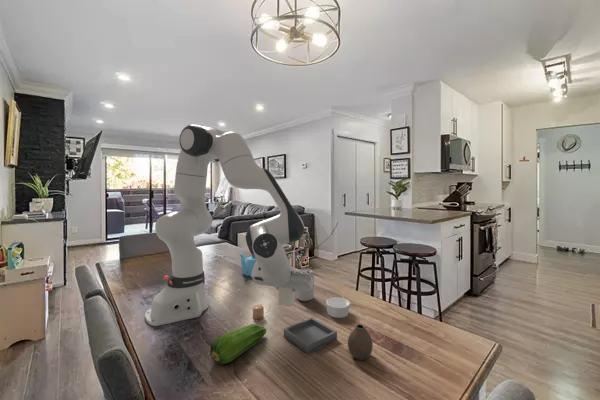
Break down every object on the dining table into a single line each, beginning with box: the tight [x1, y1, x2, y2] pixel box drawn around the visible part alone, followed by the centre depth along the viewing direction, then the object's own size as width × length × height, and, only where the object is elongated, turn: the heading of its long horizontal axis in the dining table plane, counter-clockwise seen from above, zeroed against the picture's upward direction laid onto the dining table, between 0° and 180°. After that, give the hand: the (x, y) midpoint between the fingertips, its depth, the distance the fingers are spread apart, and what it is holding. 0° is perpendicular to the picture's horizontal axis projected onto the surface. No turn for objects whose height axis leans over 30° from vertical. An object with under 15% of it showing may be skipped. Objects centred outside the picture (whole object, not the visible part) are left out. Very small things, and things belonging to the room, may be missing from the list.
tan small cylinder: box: [252, 304, 265, 322], centre depth 104 cm, size 4×4×4 cm
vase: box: [347, 324, 374, 361], centre depth 81 cm, size 7×7×9 cm
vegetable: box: [209, 323, 267, 366], centre depth 84 cm, size 7×7×20 cm
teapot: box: [238, 252, 256, 278], centre depth 152 cm, size 15×15×10 cm
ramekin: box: [325, 297, 351, 319], centre depth 107 cm, size 9×9×4 cm
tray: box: [283, 317, 338, 355], centre depth 90 cm, size 12×12×2 cm
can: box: [295, 268, 315, 302], centre depth 120 cm, size 8×8×12 cm
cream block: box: [277, 287, 296, 307], centre depth 100 cm, size 4×4×9 cm
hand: (287, 288), depth 101 cm, fingers closed on cream block, 4 cm apart
